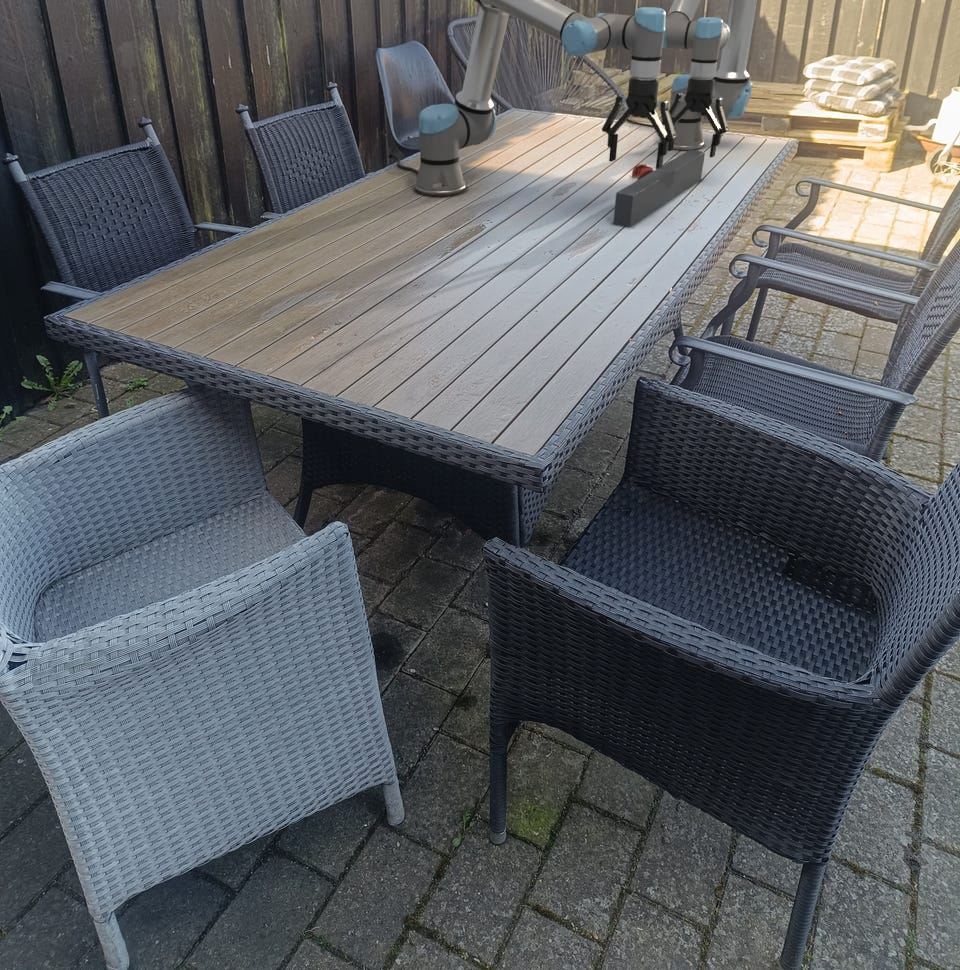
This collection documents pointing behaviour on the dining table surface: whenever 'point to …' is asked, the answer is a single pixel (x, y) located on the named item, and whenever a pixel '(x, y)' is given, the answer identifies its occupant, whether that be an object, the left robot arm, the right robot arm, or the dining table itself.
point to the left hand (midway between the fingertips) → (635, 164)
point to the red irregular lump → (641, 170)
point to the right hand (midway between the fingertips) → (690, 153)
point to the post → (657, 188)
